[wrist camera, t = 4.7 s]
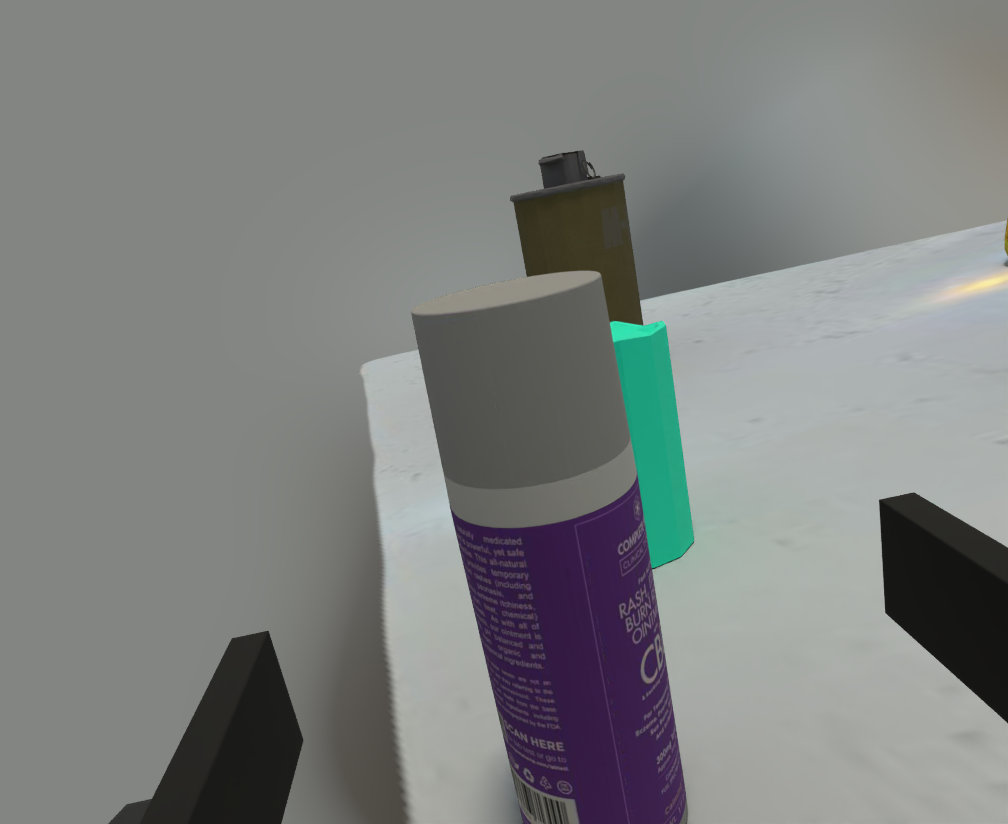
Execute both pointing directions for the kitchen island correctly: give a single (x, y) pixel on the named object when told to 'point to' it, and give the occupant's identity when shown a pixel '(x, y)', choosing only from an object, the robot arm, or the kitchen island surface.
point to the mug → (1006, 239)
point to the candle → (654, 436)
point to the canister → (580, 230)
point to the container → (555, 545)
